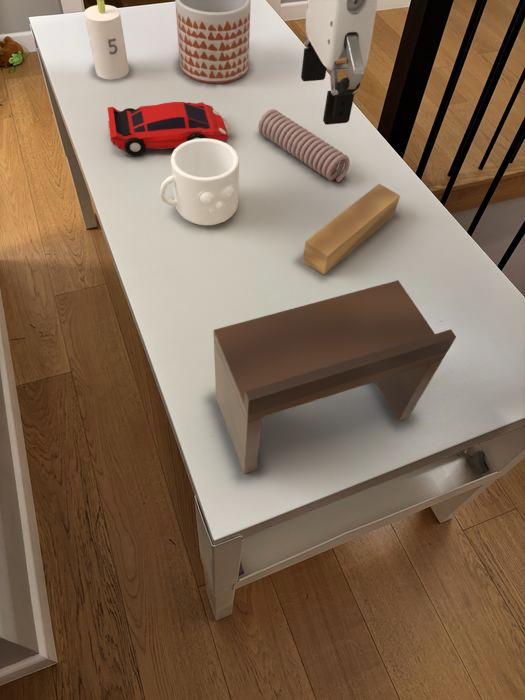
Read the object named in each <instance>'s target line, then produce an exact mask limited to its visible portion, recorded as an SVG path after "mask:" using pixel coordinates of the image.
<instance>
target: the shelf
mask: <svg viewBox="0 0 525 700" xmlns="http://www.w3.org/2000/svg"><path fill="white" fill-rule="evenodd" d="M456 338H457V335H456V334H455V332H454V331H453V330H452V329H451V328H450V329H447V330H444V331H440V332H437V333H435V332H434V330H433V329H432V327H431V325H430V324H429V322H428V321H427V320H426V319H425V317H424V315H423V314H422V312H421V311H420V309H419V308H418V306H417V305H416V304H415V303H414V300H413V299H412V298H411V296H410V294H409V293H408V292H407V290H406V289H405V288H404V286H403V284H402V283H401V282H400V281H399V279H397V280H394V281H390V282H386V283H383V284H379V285H375V286H371V287H367V288H364V289H359V290H357V291H353V292H349V293H346V294H342V295H338V296H333V297H330V298H327V299H323V300H320V301H316V302H312V303H308V304H304V305H301V306H297V307H294V308H290V309H286V310H283V311H278V312H274V313H271V314H267V315H264V316H259V317H256V318H252V319H248V320H245V321H241V322H238V323H233V324H230V325H226V326H223V327H219V328H216V329H213V354H214V355H213V356H214V378H215V380H214V381H215V401H216V404H217V406H218V408H219V411H220V414H221V416H222V420H223V421H224V424H225V427H226V430H227V432H228V435H229V437H230V440H231V442H232V446H233V448H234V452H235V453H236V456H237V459H238V462H239V464H240V467H241V470H242V472H243V474H244V475H246V474H248V473H251V472H254V471H257V468H258V460H259V453H260V452H259V450H260V442H261V433H262V425H263V418H264V417H268V416H271V415H274V414H277V413H281V412H283V411H284V412H285V411H287V410H290V409H293V408H296V407H299V406H303V405H305V404H309V403H312V402H316V401H318V400H322V399H324V398H327V397H331V396H333V395H337V394H340V393H343V392H347V391H350V390H353V389H356V388H358V387H361V386H362V387H363V386H365V385H369V384H371V383H375V384H376V386H377V387H378V389H379V391H380V393H381V395H382V397H383V398H384V399H385V402H386V403H387V405H388V407H389V408H390V410H391V412H392V413H393V415H394V417H395V419H396V420H397V422H400V421H402V420H403V421H404V420H406V419H409V418H410V416H411V415H412V413H413V411H414V410H415V408H416V406H417V404H418V403H419V401H420V399H421V398H422V396H423V394H424V392H425V391H426V389H427V387H428V386H429V384H430V382H431V380H432V379H433V377H434V376H435V374H436V372H437V370H438V369H439V367H440V366H441V364H442V362H443V361H444V359H445V357H446V355H447V354H448V352H449V350H450V349H451V347H452V345H453V343H454V342H455V340H456Z"/></svg>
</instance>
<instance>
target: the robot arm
mask: <svg viewBox="0 0 525 700" xmlns="http://www.w3.org/2000/svg"><path fill="white" fill-rule="evenodd" d="M306 3H307V4H306V11H305V33H306V34H305V36H304V41H303V42H304V49H303V55H302V65H301V71H300V72H301V73H300V79H301V81H302V82H315V81H324V80H325V79H326V75H327V70H329V80H330V90H327V94H326V99H325V105H324V112H323V118H322V122H323V123H324V125H326V126H329V125H338V124H346V123H347V124H348V122H349V121H350V118H351V114H352V109H353V105H354V104H353V103H354V99H355V98H354V97H355V95H357V92H358V90H359V88H360V86H361V81H362V79H363V78H364V76H365V72H366V71H365V67H366V66H367V64H368V60H369V56H370V51H371V50H370V49H371V45H372V40H373V34H374V27H375V20H376V16H377V15H376V13H377V6H378V0H307V2H306ZM343 59H345V60H346V62H340V63H339V62H338V61H339V60H343ZM345 71H347V73H346V77H343V78H342V79H340V80H339V72H345Z"/></svg>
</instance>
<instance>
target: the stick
mask: <svg viewBox="0 0 525 700" xmlns="http://www.w3.org/2000/svg"><path fill="white" fill-rule="evenodd" d="M400 199H401V195H400V194H399V193H397V192H395V191H393V190H391V189H390V188H387V186H385V185H383V184H382V183H378V184H377V185H375V186H374V187H373V188H371V189H370V190H369V191H367V192H366V193H365V194H364V195H362V196H361V197H359V198H358V199H357V200H356V201H354V202H353V204H351V205H350V206H348V207H347V208H346V209H345V210H343V211H342V212H341V213H340V214H339V215H337V216H336V217H334V218H333V219H332V220H331V221H329V222H328V223H327V224H325V225H324V226H323V227H322V228H321V229H319V230H318V231H317V232H316V233H314V234H313V235H312V236H311V237H309V238H307V239H306V241H305V243H304V248H303V254H302V255H303V256H302V263H304V264H306V265H307V266H309V268H312V270H315V271H316V272H318V273H319V274H321V276H325V275H326V274H327V273H329V272H330V271H331V270H332V269H334V268H335V266H337V265H338V264H339V263H340V262H341V261H343V260H345V258H346V257H348V255H350V254H351V253H352V252H353V251H354V250H356V249H357V248H358V247H359V246H360V245H361V244H363V243H364V242H366V240H367V239H369V238H370V237H371V236H372V235H373V234H374V233H375V232H377V231H378V230H379V229H380V228H381V227H382V226H384V224H386V223H387V222H388V221H390V220H391V219H392V218H393V217H394V216H395V213H396V211H397V207H398V204H399V201H400Z"/></svg>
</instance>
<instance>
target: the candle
mask: <svg viewBox="0 0 525 700" xmlns="http://www.w3.org/2000/svg"><path fill="white" fill-rule="evenodd" d="M83 15H84V22H85V25H86V30H87V36H88V40H89V45H90V51H91V56H92V60H93V65H94V70H95V74H96V75H97V76H98V77H99V78H101V79H103V80H110V81H111V80H112V81H114V80H120V79H123V78H125V77H126V76H127V75H128V74H129V72H130V69H129V62H128V61H129V60H128V56H127V50H126V49H127V48H126V43H125V42H126V41H125V37H124V36H125V35H124V28H123V22H122V17H121V11H120V9H119V8H118V7H115V6H114V5H109V4H105V0H96V4H95V5H91V6H89V7H88V8H85V10H84V12H83Z"/></svg>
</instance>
